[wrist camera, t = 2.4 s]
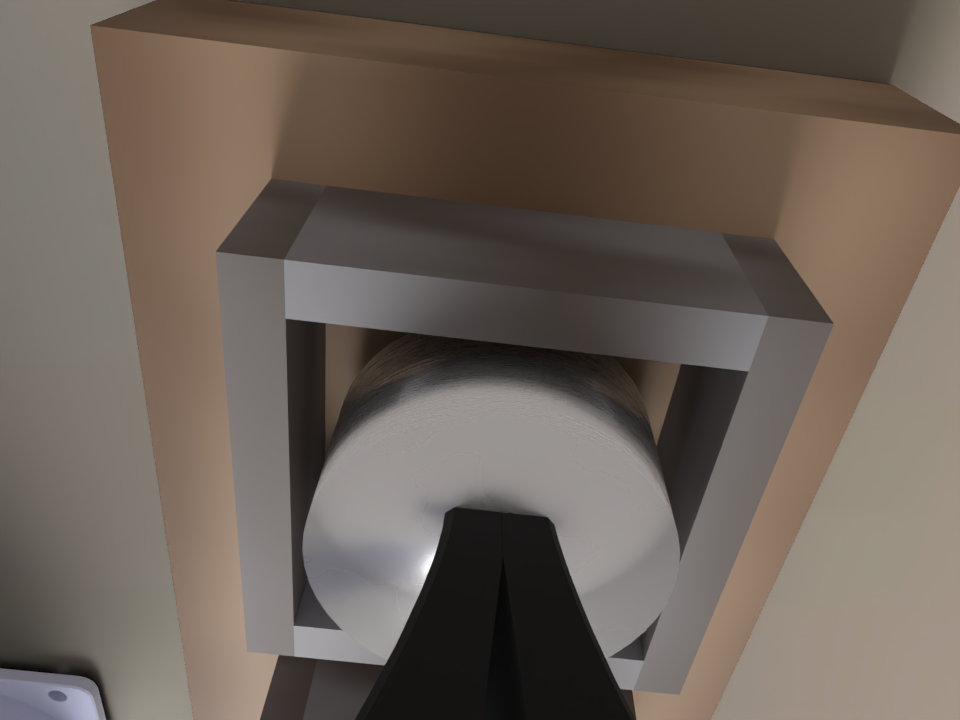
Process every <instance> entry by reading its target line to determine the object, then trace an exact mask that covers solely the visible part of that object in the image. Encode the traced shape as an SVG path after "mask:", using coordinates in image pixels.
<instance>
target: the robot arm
mask: <svg viewBox="0 0 960 720" xmlns="http://www.w3.org/2000/svg"><path fill="white" fill-rule="evenodd" d="M0 720H106V717H105V713H104V709H103V705H102V701H101V697H100V693H99V689H98V687H97V685H96V684H95V683H94V682H93V681H92V680H90V679H88V678H86V677H82V676H75V675H65V674H54V673H44V672H34V671H24V670H14V669H3V668H0ZM355 720H636V719H635V717H634V715H633V713H632V711H631V709H630V708H629V706H628V704H627V702H626V700H625V698H624V696H623V694H622V692H621V690H620V688H619V686H618V684H617V682H616V679H615V677H614V675H613V673H612V671H611V669H610V667H609V665H608V662H607V660H606V658H605V656H604V654H603V651H602V649H601V647H600V645H599V643H598V640H597V638H596V636H595V634H594V632H593V630H592V627H591V625H590V623H589V620H588V618H587V615H586V613H585V611H584V608H583V606H582V603H581V601H580V598H579V596H578V593H577V591H576V588H575V586H574V583H573V580H572V578H571V575H570V572H569V569H568V567H567V564H566V561H565V558H564V555H563V552H562V549H561V546H560V543H559V539H558V536H557V532H556V529H555V525H554V524H553V523H552V521H551V520H550V519H549V518H548V517H541V516H531V515H522V514H513V513H503V512H494V511H485V510H475V509H466V508H457V507H454V508H452V509H451V510H449V511H447V512H445V515H444V522H443V527H442V532H441V535H440V539H439V543H438V546H437V549H436V552H435V555H434V558H433V561H432V564H431V567H430V569H429V572H428V574H427V577H426V579H425V582H424V584H423V587H422V589H421V592H420V594H419V596H418V598H417V601H416V603H415V605H414V607H413V609H412V611H411V614H410V616H409V618H408V620H407V622H406V624H405V626H404V629H403V631H402V633H401V635H400V637H399V639H398V641H397V643H396V645H395V647H394V649H393V651H392V653H391V655H390V657H389V659H388V660H387V662H386V664H385V666H384V668H383V670H382V671H381V673H380V675H379V677H378V679H377V681H376V682H375V684H374V686H373V688H372V690H371V692H370V693H369V695H368V697H367V699H366V701H365V703H364V704H363V706H362V708H361V710H360V711H359V713H358V715H357V716H356V718H355Z"/></svg>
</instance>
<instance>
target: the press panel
mask: <svg viewBox="0 0 960 720" xmlns="http://www.w3.org/2000/svg"><path fill="white" fill-rule="evenodd" d="M90 27H91V34H92V40H93V47H94V54H95V61H96V67H97V74H98V81H99V87H100V94H101V101H102V108H103V114H104V121H105V128H106V135H107V141H108V148H109V155H110V161H111V168H112V175H113V182H114V188H115V195H116V202H117V209H118V215H119V222H120V229H121V235H122V242H123V249H124V256H125V262H126V269H127V276H128V283H129V289H130V296H131V303H132V309H133V316H134V323H135V330H136V336H137V343H138V350H139V357H140V363H141V370H142V377H143V383H144V390H145V397H146V404H147V410H148V417H149V424H150V431H151V437H152V444H153V451H154V457H155V464H156V471H157V478H158V484H159V491H160V498H161V505H162V511H163V518H164V525H165V531H166V538H167V545H168V552H169V558H170V565H171V572H172V579H173V585H174V592H175V599H176V605H177V612H178V619H179V626H180V632H181V639H182V646H183V653H184V659H185V666H186V673H187V679H188V686H189V693H190V700H191V706H192V713H193V720H355V718H356V716H357V715H358V713H359V711H360V710H361V708H362V706H363V704H364V703H365V701H366V699H367V697H368V695H369V693H370V692H371V690H372V688H373V686H374V684H375V682H376V681H377V679H378V677H379V675H380V673H381V671H382V670H383V668H384V666H385V664H386V662H387V659H385V658H383V657H381V656H379V655H377V654H375V653H374V652H372V651H370V650H369V649H367V648H366V647H364V646H363V645H361V644H360V643H358V642H357V641H355V640H354V639H353V638H352V637H350V636H349V635H348V634H347V633H346V632H345V631H343V630H342V629H341V628H340V627H339V626H338V625H337V624H336V623H335V622H334V621H333V619H332V618H331V617H330V616H329V615H328V614H327V613H326V611H325V610H324V608H323V607H322V605H321V604H320V602H319V601H318V600H317V598H316V596H315V594H314V592H313V590H312V588H311V586H310V583H309V581H308V577H307V574H306V570H305V567H304V560H303V551H302V546H303V533H304V528H305V524H306V521H307V517H308V513H309V510H310V507H311V504H312V501H313V497H314V494H315V491H316V488H317V484H318V481H319V478H320V475H321V472H322V468H323V465H324V462H325V459H326V456H327V452H328V449H329V446H330V443H331V440H332V436H333V433H334V430H335V427H336V424H337V420H338V417H339V414H340V411H341V407H342V404H343V401H344V399H345V396H346V394H347V392H348V390H349V388H350V386H351V384H352V382H353V381H354V379H355V378H356V376H357V375H358V373H359V372H360V370H361V369H362V368H363V367H364V366H365V365H366V364H367V363H368V362H369V360H370V359H371V358H372V357H373V356H374V355H375V354H377V353H378V352H379V351H380V350H382V349H383V348H384V347H385V346H387V345H388V344H389V343H391V342H392V341H394V340H396V339H397V338H399V337H401V336H402V335H404V334H406V333H416V334H425V335H434V336H442V337H451V338H460V339H469V340H477V341H486V342H495V343H504V344H513V345H521V346H530V347H539V348H548V349H556V350H565V351H574V352H583V353H592V354H600V355H609V356H612V357H613V358H614V359H615V360H616V361H617V362H618V363H619V364H620V365H621V366H622V367H623V368H624V369H625V371H626V372H627V373H628V375H629V376H630V378H631V379H632V380H633V382H634V383H635V385H636V386H637V388H638V391H639V393H640V395H641V397H642V399H643V401H644V404H645V407H646V410H647V414H648V417H649V421H650V425H651V429H652V433H653V437H654V441H655V445H656V449H657V453H658V457H659V461H660V465H661V469H662V473H663V477H664V481H665V485H666V489H667V493H668V497H669V501H670V505H671V509H672V513H673V517H674V521H675V524H676V528H677V532H678V538H679V547H680V562H679V572H678V576H677V579H676V583H675V587H674V589H673V591H672V594H671V596H670V598H669V600H668V602H667V604H666V605H665V607H664V608H663V610H662V611H661V613H660V614H659V616H658V617H657V619H656V620H655V621H654V622H653V623H652V624H651V625H650V626H649V627H648V628H647V630H646V631H645V632H644V633H642V634H641V635H640V636H639V637H638V638H636V639H635V640H634V641H633V642H632V643H631V644H629V645H628V646H626V647H625V648H623V649H622V650H620V651H618V652H617V653H615V654H614V655H612V656H610V657H608V658H606V660H607V662H608V665H609V667H610V669H611V671H612V673H613V675H614V677H615V679H616V682H617V684H618V686H619V688H620V690H621V692H622V694H623V696H624V698H625V700H626V702H627V704H628V706H629V708H630V709H631V711H632V713H633V715H634V717H635V719H636V720H711V718H712V716H713V714H714V712H715V710H716V708H717V705H718V703H719V701H720V699H721V697H722V695H723V693H724V690H725V688H726V686H727V684H728V682H729V680H730V677H731V675H732V673H733V671H734V669H735V667H736V665H737V662H738V660H739V658H740V656H741V654H742V652H743V650H744V647H745V645H746V643H747V641H748V639H749V637H750V635H751V632H752V630H753V628H754V626H755V624H756V622H757V620H758V617H759V615H760V613H761V611H762V609H763V607H764V605H765V602H766V600H767V598H768V596H769V594H770V592H771V590H772V587H773V585H774V583H775V581H776V579H777V577H778V575H779V572H780V570H781V568H782V566H783V564H784V562H785V560H786V557H787V555H788V553H789V551H790V549H791V547H792V545H793V542H794V540H795V538H796V536H797V534H798V532H799V529H800V527H801V525H802V523H803V521H804V519H805V517H806V514H807V512H808V510H809V508H810V506H811V504H812V502H813V499H814V497H815V495H816V493H817V491H818V489H819V487H820V484H821V482H822V480H823V478H824V476H825V474H826V472H827V469H828V467H829V465H830V463H831V461H832V459H833V457H834V454H835V452H836V450H837V448H838V446H839V444H840V442H841V439H842V437H843V435H844V433H845V431H846V429H847V427H848V424H849V422H850V420H851V418H852V416H853V414H854V412H855V409H856V407H857V405H858V403H859V401H860V399H861V397H862V394H863V392H864V390H865V388H866V386H867V384H868V381H869V379H870V377H871V375H872V373H873V371H874V369H875V366H876V364H877V362H878V360H879V358H880V356H881V354H882V351H883V349H884V347H885V345H886V343H887V341H888V339H889V336H890V334H891V332H892V330H893V328H894V326H895V324H896V321H897V319H898V317H899V315H900V313H901V311H902V309H903V306H904V304H905V302H906V300H907V298H908V296H909V294H910V291H911V289H912V287H913V285H914V283H915V281H916V279H917V276H918V274H919V272H920V270H921V268H922V266H923V264H924V261H925V259H926V257H927V255H928V253H929V251H930V249H931V246H932V244H933V242H934V240H935V238H936V236H937V233H938V231H939V229H940V227H941V225H942V223H943V221H944V218H945V216H946V214H947V212H948V210H949V208H950V206H951V203H952V201H953V199H954V197H955V195H956V193H957V191H958V188H959V186H960V124H959V123H957V122H955V121H953V120H952V119H950V118H948V117H946V116H945V115H943V114H941V113H939V112H938V111H936V110H934V109H933V108H931V107H929V106H927V105H926V104H924V103H922V102H920V101H919V100H917V99H915V98H913V97H912V96H910V95H908V94H906V93H905V92H903V91H901V90H899V89H898V88H896V87H894V86H893V85H890V84H883V83H875V82H867V81H859V80H851V79H843V78H835V77H828V76H820V75H812V74H804V73H796V72H788V71H780V70H772V69H765V68H757V67H749V66H741V65H733V64H725V63H717V62H710V61H702V60H694V59H686V58H678V57H670V56H662V55H655V54H647V53H639V52H631V51H623V50H615V49H607V48H599V47H592V46H584V45H576V44H568V43H560V42H552V41H544V40H537V39H529V38H521V37H513V36H505V35H497V34H489V33H481V32H474V31H466V30H458V29H450V28H442V27H434V26H426V25H419V24H411V23H403V22H395V21H387V20H379V19H371V18H363V17H356V16H348V15H340V14H332V13H324V12H316V11H308V10H301V9H293V8H285V7H277V6H269V5H261V4H253V3H245V2H238V1H230V0H156V1H153V2H150V3H148V4H145V5H143V6H140V7H137V8H135V9H132V10H129V11H127V12H124V13H122V14H119V15H116V16H114V17H111V18H108V19H106V20H103V21H101V22H98V23H95V24H93V25H90Z"/></svg>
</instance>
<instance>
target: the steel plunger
mask: <svg viewBox="0 0 960 720" xmlns="http://www.w3.org/2000/svg"><path fill="white" fill-rule="evenodd" d="M454 507H457V508H466V509H475V510H485V511H494V512H503V513H513V514H522V515H531V516H541V517H548V518H549V519H550V520H551V521H552V523H553V524H554V525H555V529H556V532H557V536H558V539H559V543H560V546H561V549H562V552H563V555H564V558H565V561H566V564H567V567H568V569H569V572H570V575H571V578H572V580H573V583H574V586H575V588H576V591H577V593H578V596H579V598H580V601H581V603H582V606H583V608H584V611H585V613H586V615H587V618H588V620H589V623H590V625H591V627H592V630H593V632H594V634H595V636H596V638H597V640H598V643H599V645H600V647H601V649H602V651H603V654H604V656H605V658H608V657H610V656H612V655H614V654H615V653H617V652H618V651H620V650H622V649H623V648H625V647H626V646H628V645H629V644H631V643H632V642H633V641H634V640H635V639H636V638H638V637H639V636H640V635H641V634H642V633H644V632H645V631H646V630H647V628H648V627H649V626H650V625H651V624H652V623H653V622H654V621H655V620H656V619H657V617H658V616H659V614H660V613H661V611H662V610H663V608H664V607H665V605H666V604H667V602H668V600H669V598H670V596H671V594H672V591H673V589H674V587H675V583H676V579H677V576H678V572H679V562H680V547H679V538H678V532H677V528H676V524H675V521H674V517H673V513H672V509H671V505H670V501H669V497H668V493H667V489H666V485H665V481H664V477H663V473H662V469H661V465H660V461H659V457H658V453H657V449H656V445H655V441H654V437H653V433H652V429H651V425H650V421H649V417H648V414H647V410H646V407H645V404H644V401H643V399H642V397H641V395H640V393H639V391H638V388H637V386H636V385H635V383H634V382H633V380H632V379H631V378H630V376H629V375H628V373H627V372H626V371H625V369H624V368H623V367H622V366H621V365H620V364H619V363H618V362H617V361H616V360H615V359H614V358H613V357H612V356H609V355H600V354H592V353H583V352H574V351H565V350H556V349H548V348H539V347H530V346H521V345H513V344H504V343H495V342H486V341H477V340H469V339H460V338H451V337H442V336H434V335H425V334H416V333H406V334H404V335H402V336H401V337H399V338H397V339H396V340H394V341H392V342H391V343H389V344H388V345H387V346H385V347H384V348H383V349H382V350H380V351H379V352H378V353H377V354H375V355H374V356H373V357H372V358H371V359H370V360H369V362H368V363H367V364H366V365H365V366H364V367H363V368H362V369H361V370H360V372H359V373H358V375H357V376H356V378H355V379H354V381H353V382H352V384H351V386H350V388H349V390H348V392H347V394H346V396H345V399H344V401H343V404H342V407H341V411H340V414H339V417H338V420H337V424H336V427H335V430H334V433H333V436H332V440H331V443H330V446H329V449H328V452H327V456H326V459H325V462H324V465H323V468H322V472H321V475H320V478H319V481H318V484H317V488H316V491H315V494H314V497H313V501H312V504H311V507H310V510H309V513H308V517H307V521H306V524H305V528H304V533H303V546H302V551H303V560H304V567H305V570H306V574H307V577H308V581H309V583H310V586H311V588H312V590H313V592H314V594H315V596H316V598H317V600H318V601H319V602H320V604H321V605H322V607H323V608H324V610H325V611H326V613H327V614H328V615H329V616H330V617H331V618H332V619H333V621H334V622H335V623H336V624H337V625H338V626H339V627H340V628H341V629H342V630H343V631H345V632H346V633H347V634H348V635H349V636H350V637H352V638H353V639H354V640H355V641H357V642H358V643H360V644H361V645H363V646H364V647H366V648H367V649H369V650H370V651H372V652H374V653H375V654H377V655H379V656H381V657H383V658H385V659H387V660H388V659H389V657H390V655H391V653H392V651H393V649H394V647H395V645H396V643H397V641H398V639H399V637H400V635H401V633H402V631H403V629H404V626H405V624H406V622H407V620H408V618H409V616H410V614H411V611H412V609H413V607H414V605H415V603H416V601H417V598H418V596H419V594H420V592H421V589H422V587H423V584H424V582H425V579H426V577H427V574H428V572H429V569H430V567H431V564H432V561H433V558H434V555H435V552H436V549H437V546H438V543H439V539H440V535H441V532H442V527H443V522H444V515H445V512H447V511H449V510H451V509H452V508H454Z"/></svg>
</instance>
